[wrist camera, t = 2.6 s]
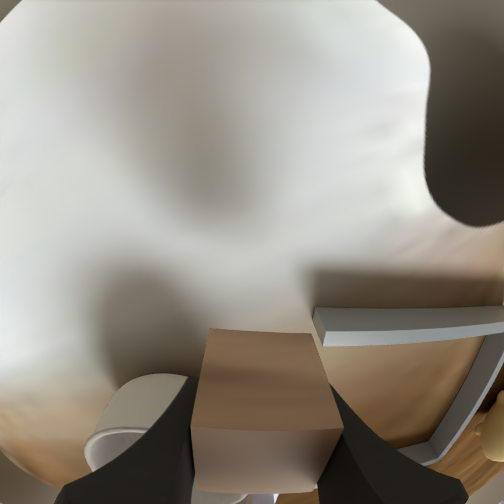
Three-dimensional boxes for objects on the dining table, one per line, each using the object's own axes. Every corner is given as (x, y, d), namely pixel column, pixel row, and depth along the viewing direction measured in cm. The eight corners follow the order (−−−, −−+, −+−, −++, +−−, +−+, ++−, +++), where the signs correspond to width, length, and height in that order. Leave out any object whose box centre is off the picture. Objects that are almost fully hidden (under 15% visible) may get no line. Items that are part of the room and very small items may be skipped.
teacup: (94, 372, 20) (53, 441, 12) (205, 330, 19) (186, 421, 11) (186, 465, 24) (176, 528, 16) (286, 442, 23) (295, 515, 15)
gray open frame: (430, 444, 25) (439, 461, 22) (276, 467, 24) (278, 490, 21) (502, 305, 19) (522, 319, 16) (315, 307, 19) (326, 331, 16)
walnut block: (295, 403, 13) (311, 491, 8) (209, 399, 12) (197, 490, 8) (311, 333, 11) (344, 427, 7) (209, 328, 11) (190, 426, 6)
